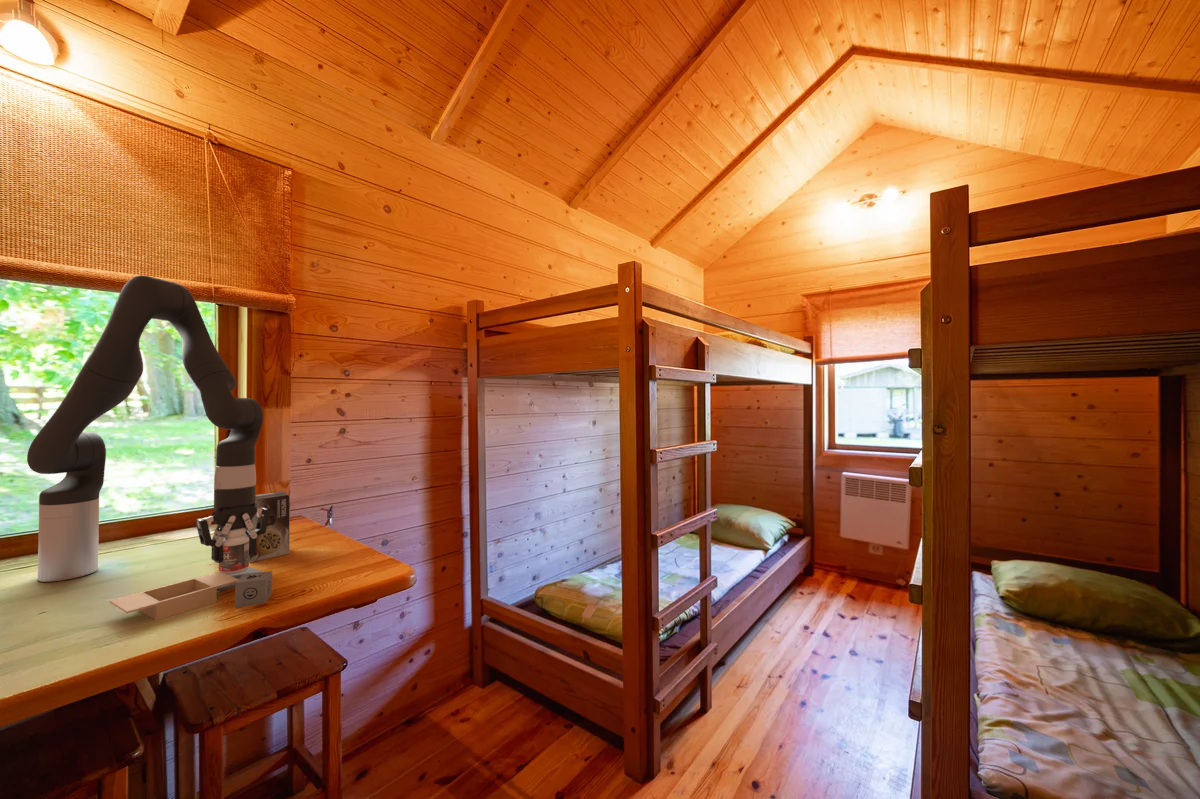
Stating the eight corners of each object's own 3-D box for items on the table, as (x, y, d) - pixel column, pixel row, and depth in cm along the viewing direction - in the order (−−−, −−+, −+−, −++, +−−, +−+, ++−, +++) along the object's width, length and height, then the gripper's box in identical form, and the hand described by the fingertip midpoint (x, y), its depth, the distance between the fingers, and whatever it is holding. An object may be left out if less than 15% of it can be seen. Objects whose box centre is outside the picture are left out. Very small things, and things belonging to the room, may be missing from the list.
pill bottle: (215, 576, 102) (215, 532, 102) (223, 568, 107) (224, 526, 107) (245, 573, 104) (245, 530, 104) (251, 565, 109) (252, 524, 109)
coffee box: (282, 549, 127) (282, 490, 127) (290, 554, 123) (290, 494, 123) (241, 557, 120) (242, 495, 120) (248, 563, 116) (249, 499, 116)
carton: (108, 617, 87) (108, 600, 87) (219, 586, 102) (219, 571, 102) (126, 629, 82) (126, 611, 82) (239, 594, 97) (239, 579, 97)
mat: (197, 582, 103) (197, 580, 103) (248, 568, 112) (248, 566, 112) (217, 591, 98) (217, 589, 98) (269, 576, 107) (269, 574, 107)
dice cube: (243, 597, 96) (243, 574, 96) (272, 594, 98) (272, 570, 98) (234, 607, 91) (235, 582, 91) (265, 604, 93) (265, 579, 93)
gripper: (262, 478, 114) (261, 547, 113) (188, 487, 101) (187, 564, 101) (278, 481, 110) (277, 552, 110) (204, 491, 97) (202, 571, 97)
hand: (234, 557), depth 105 cm, fingers closed on pill bottle, 5 cm apart
